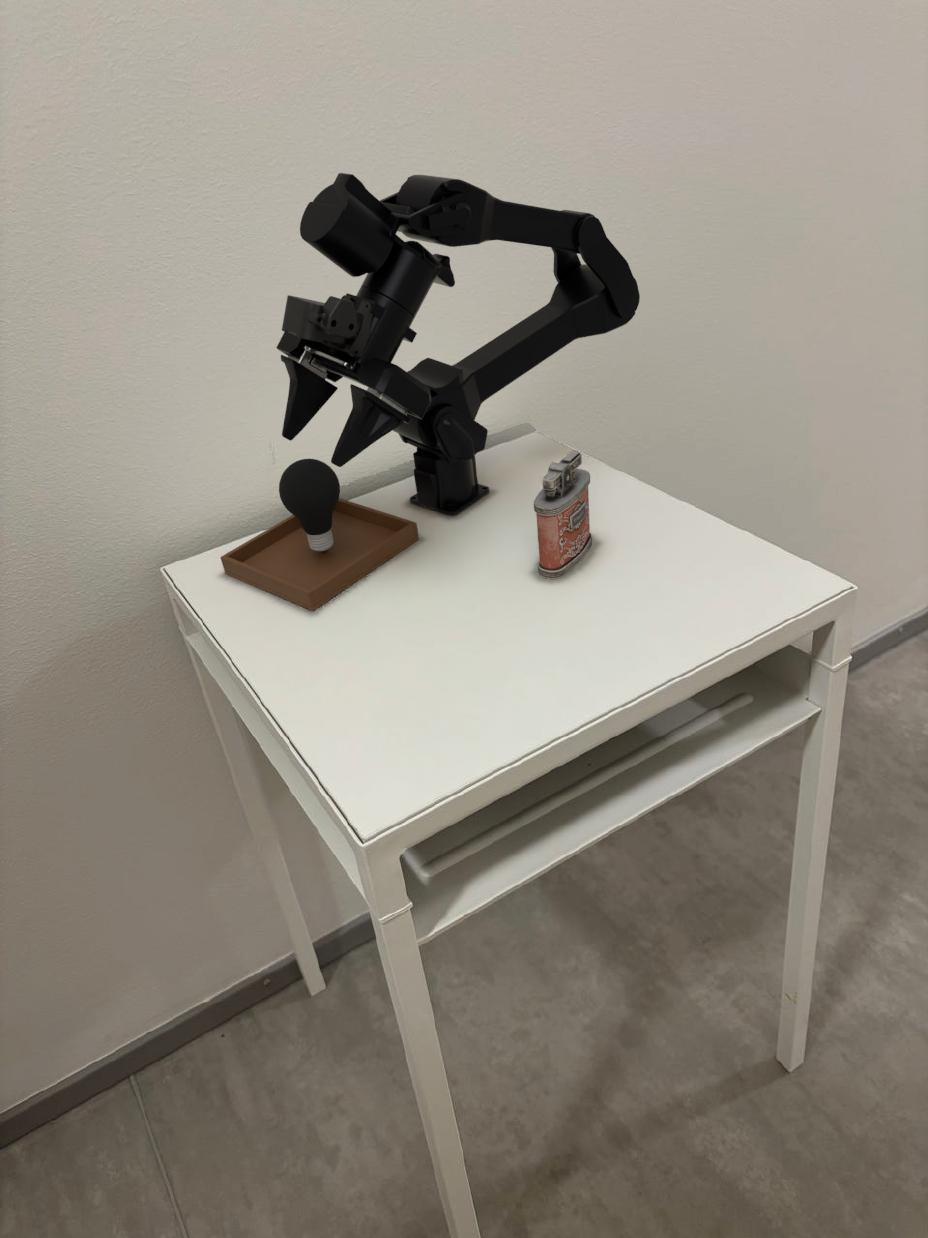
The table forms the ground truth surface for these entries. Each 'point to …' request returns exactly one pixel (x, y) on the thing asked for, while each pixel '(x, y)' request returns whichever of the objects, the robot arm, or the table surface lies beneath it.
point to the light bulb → (311, 499)
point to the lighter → (563, 517)
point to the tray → (320, 554)
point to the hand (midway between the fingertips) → (309, 451)
